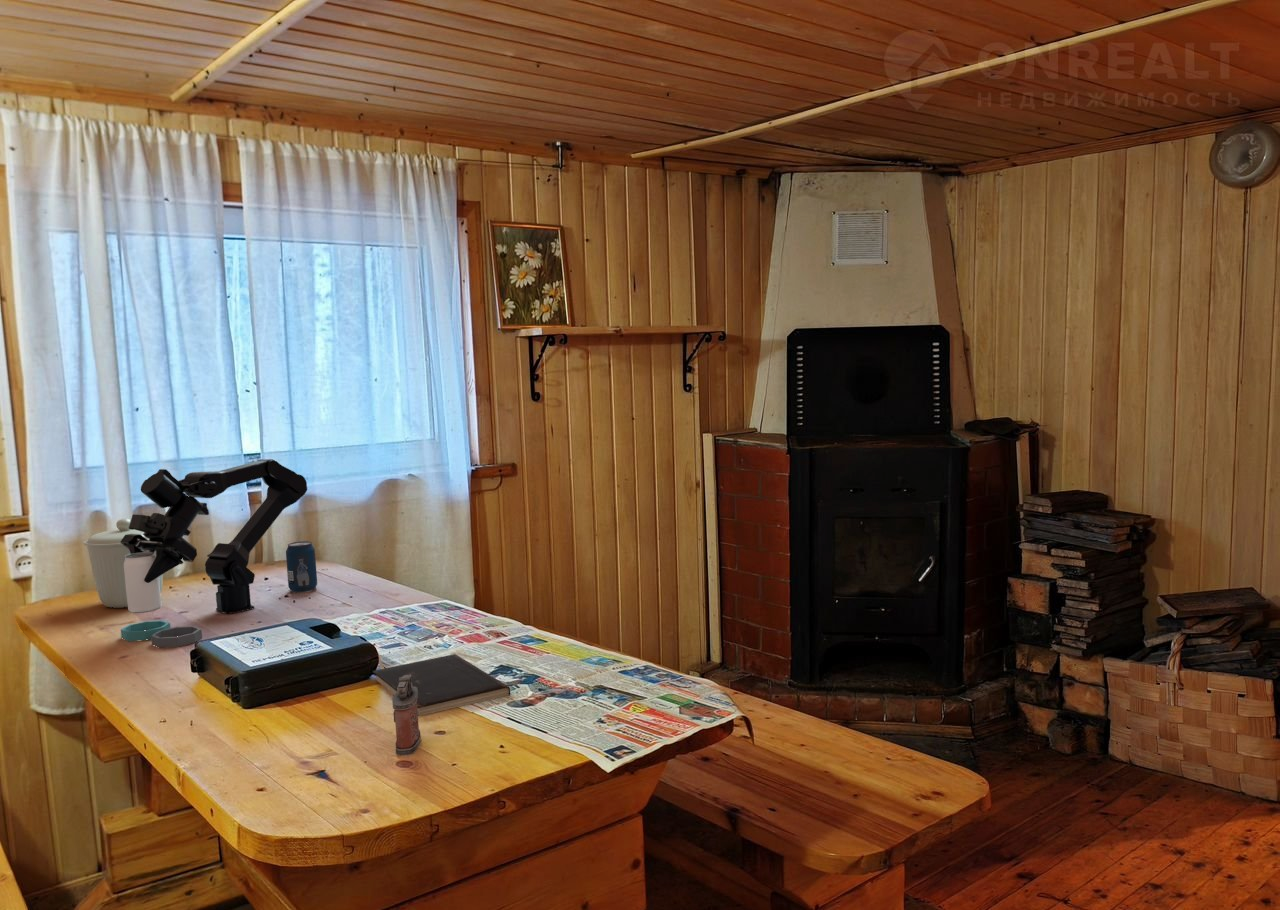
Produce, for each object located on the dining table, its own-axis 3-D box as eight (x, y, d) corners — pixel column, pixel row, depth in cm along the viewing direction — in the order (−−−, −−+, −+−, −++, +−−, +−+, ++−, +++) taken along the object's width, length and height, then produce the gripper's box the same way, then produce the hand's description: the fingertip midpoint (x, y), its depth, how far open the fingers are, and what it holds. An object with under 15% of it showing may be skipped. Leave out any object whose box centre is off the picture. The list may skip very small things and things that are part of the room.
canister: (178, 603, 242) (170, 518, 239) (94, 617, 232) (85, 527, 229) (165, 590, 256) (158, 510, 254) (86, 602, 246) (78, 519, 244)
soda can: (306, 585, 255) (303, 539, 254) (323, 588, 251) (320, 542, 250) (283, 591, 250) (279, 544, 248) (299, 594, 246) (296, 546, 244)
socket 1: (159, 627, 219) (158, 618, 219) (175, 633, 213) (174, 624, 213) (116, 636, 213) (116, 627, 213) (132, 643, 207) (132, 634, 207)
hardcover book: (418, 720, 157) (417, 706, 156) (373, 683, 176) (373, 670, 176) (511, 698, 165) (510, 685, 165) (458, 665, 184) (458, 653, 184)
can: (137, 615, 208) (132, 558, 207) (122, 611, 212) (116, 556, 210) (167, 607, 213) (162, 552, 212) (152, 604, 217) (147, 550, 216)
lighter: (401, 735, 149) (396, 670, 148) (423, 733, 149) (419, 669, 148) (392, 756, 141) (387, 688, 140) (416, 754, 141) (411, 686, 140)
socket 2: (189, 633, 213) (188, 624, 213) (207, 639, 207) (206, 630, 207) (147, 642, 207) (146, 633, 207) (164, 650, 201) (163, 640, 201)
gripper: (124, 497, 218) (80, 557, 209) (179, 500, 209) (136, 563, 200) (160, 526, 225) (119, 585, 217) (214, 530, 216) (175, 591, 208)
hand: (136, 580), depth 210 cm, fingers closed on can, 6 cm apart
